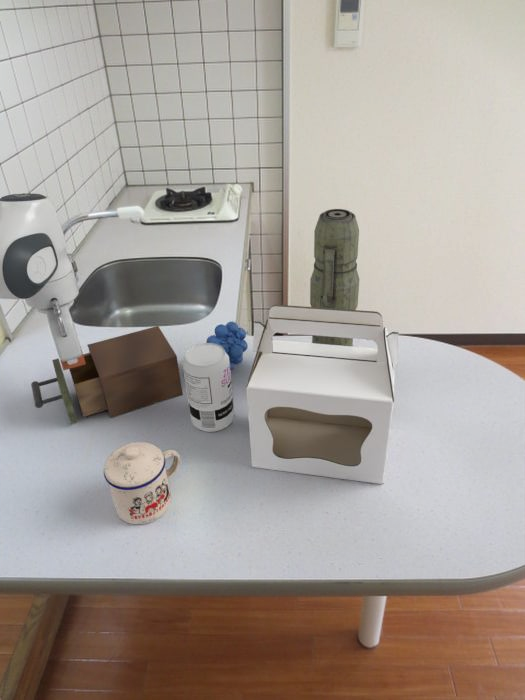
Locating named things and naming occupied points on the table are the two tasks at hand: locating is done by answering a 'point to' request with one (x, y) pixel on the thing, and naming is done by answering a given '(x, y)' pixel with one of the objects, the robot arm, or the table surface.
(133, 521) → the teacup with lid
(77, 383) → the drawer
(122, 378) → the cabinet
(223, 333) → the grapes
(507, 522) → the table surface
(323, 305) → the thermos
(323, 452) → the gable box
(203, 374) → the supplement can
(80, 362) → the block
